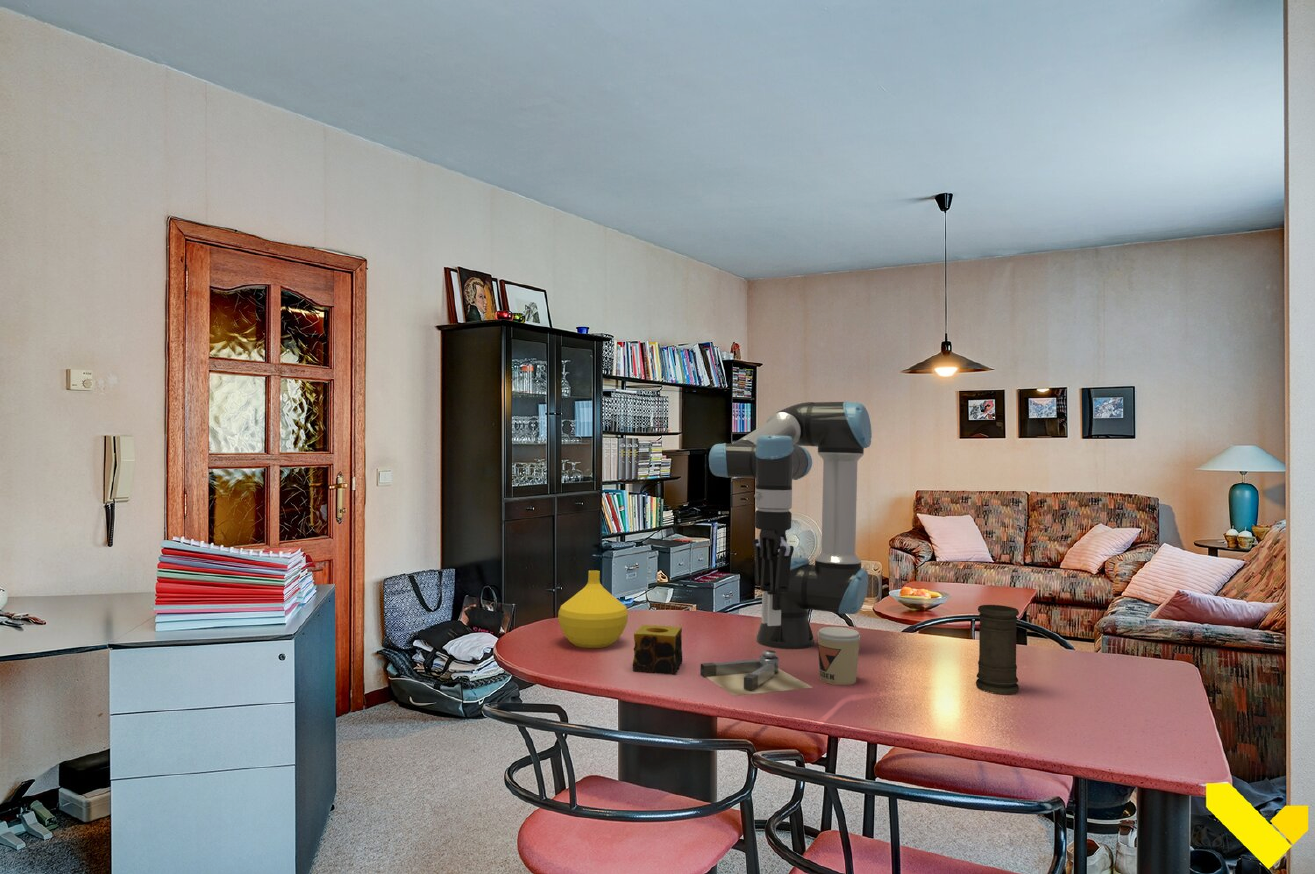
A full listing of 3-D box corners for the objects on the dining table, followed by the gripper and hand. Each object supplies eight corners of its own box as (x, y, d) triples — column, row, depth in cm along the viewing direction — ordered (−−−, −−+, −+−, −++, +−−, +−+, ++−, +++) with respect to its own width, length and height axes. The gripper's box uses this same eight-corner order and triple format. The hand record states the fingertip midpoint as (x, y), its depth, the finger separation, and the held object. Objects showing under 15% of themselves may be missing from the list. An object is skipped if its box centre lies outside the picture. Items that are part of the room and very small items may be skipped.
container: (1000, 697, 176) (1001, 613, 176) (966, 685, 184) (968, 605, 184) (1028, 691, 180) (1029, 610, 180) (994, 680, 188) (995, 602, 188)
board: (774, 671, 192) (774, 666, 192) (813, 693, 176) (813, 687, 176) (700, 678, 185) (700, 673, 185) (733, 701, 169) (733, 695, 169)
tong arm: (765, 668, 190) (765, 649, 190) (781, 670, 188) (782, 652, 188) (734, 687, 174) (734, 667, 174) (752, 690, 172) (752, 670, 172)
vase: (588, 632, 228) (590, 563, 228) (641, 642, 217) (642, 570, 217) (543, 644, 213) (544, 571, 213) (596, 656, 202) (598, 579, 202)
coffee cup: (808, 681, 185) (809, 628, 185) (842, 677, 189) (843, 625, 189) (832, 693, 176) (833, 637, 176) (868, 688, 180) (869, 634, 180)
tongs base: (771, 668, 191) (771, 654, 191) (781, 673, 186) (782, 659, 186) (700, 674, 184) (700, 660, 184) (709, 680, 180) (709, 666, 180)
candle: (675, 680, 184) (676, 636, 184) (631, 677, 186) (632, 633, 186) (683, 668, 194) (683, 626, 194) (641, 665, 196) (642, 623, 196)
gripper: (740, 507, 174) (738, 617, 174) (774, 513, 160) (772, 633, 160) (771, 506, 177) (769, 615, 177) (808, 512, 163) (805, 630, 163)
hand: (771, 623), depth 169 cm, fingers open, 2 cm apart
